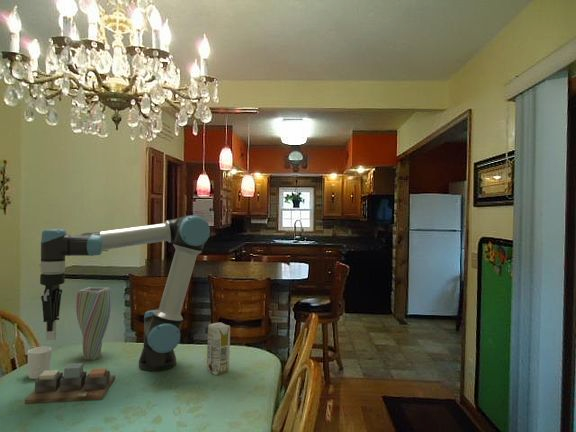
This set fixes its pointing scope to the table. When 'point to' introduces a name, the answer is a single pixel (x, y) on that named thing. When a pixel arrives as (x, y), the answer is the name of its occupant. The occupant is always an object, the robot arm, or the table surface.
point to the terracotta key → (98, 372)
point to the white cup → (38, 361)
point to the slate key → (73, 371)
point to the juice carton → (218, 348)
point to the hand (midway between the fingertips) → (50, 339)
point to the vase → (93, 318)
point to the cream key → (49, 374)
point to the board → (70, 388)
